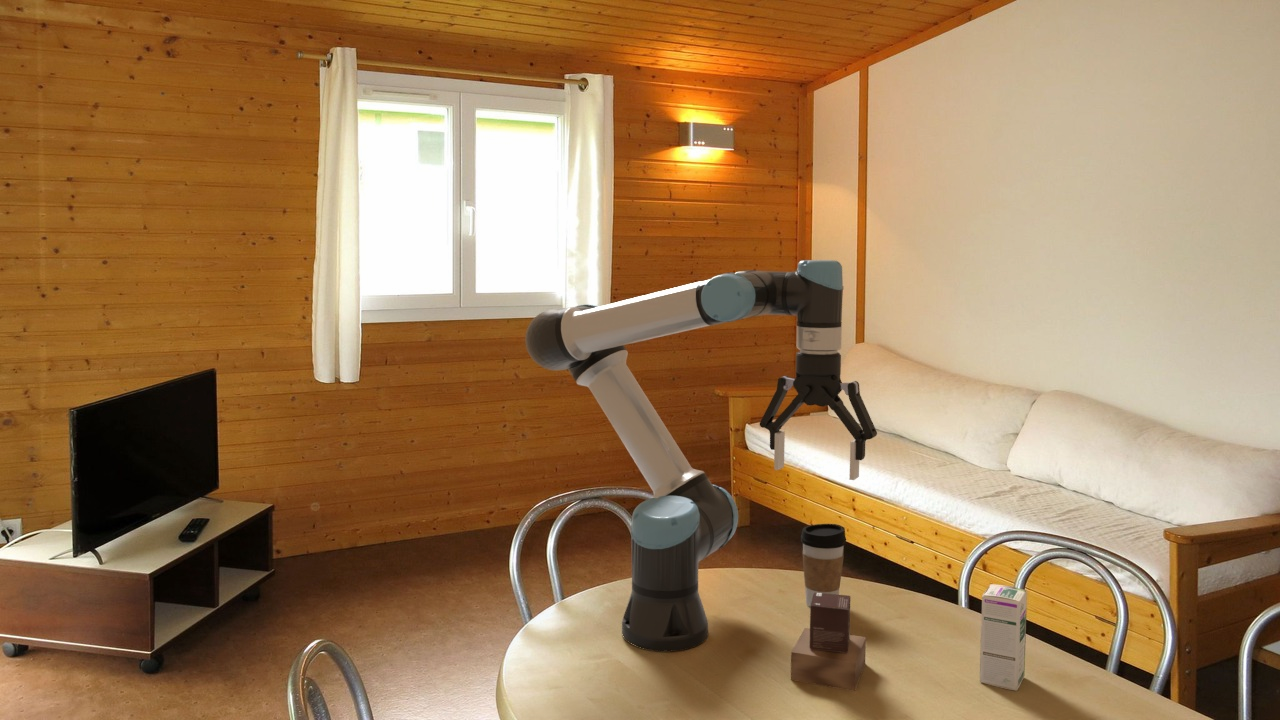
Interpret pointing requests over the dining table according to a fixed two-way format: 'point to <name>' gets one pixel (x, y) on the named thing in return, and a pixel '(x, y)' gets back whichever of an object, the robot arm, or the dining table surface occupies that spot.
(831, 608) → the box
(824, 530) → the coffee cup
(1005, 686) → the syrup box
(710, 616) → the dining table surface
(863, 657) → the walnut block
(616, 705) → the dining table surface
